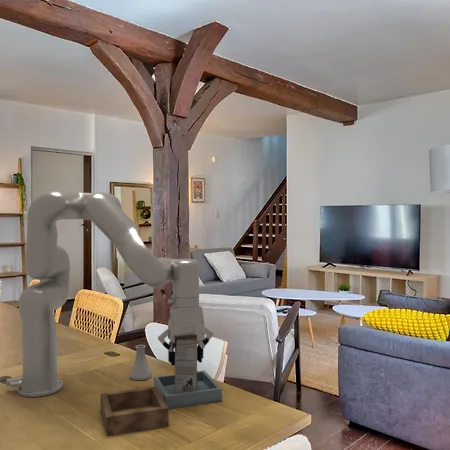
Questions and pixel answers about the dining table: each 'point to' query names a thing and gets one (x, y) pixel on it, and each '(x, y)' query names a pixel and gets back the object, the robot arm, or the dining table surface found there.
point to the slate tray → (205, 392)
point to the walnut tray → (135, 418)
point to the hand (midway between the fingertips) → (185, 362)
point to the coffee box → (185, 364)
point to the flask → (140, 365)
